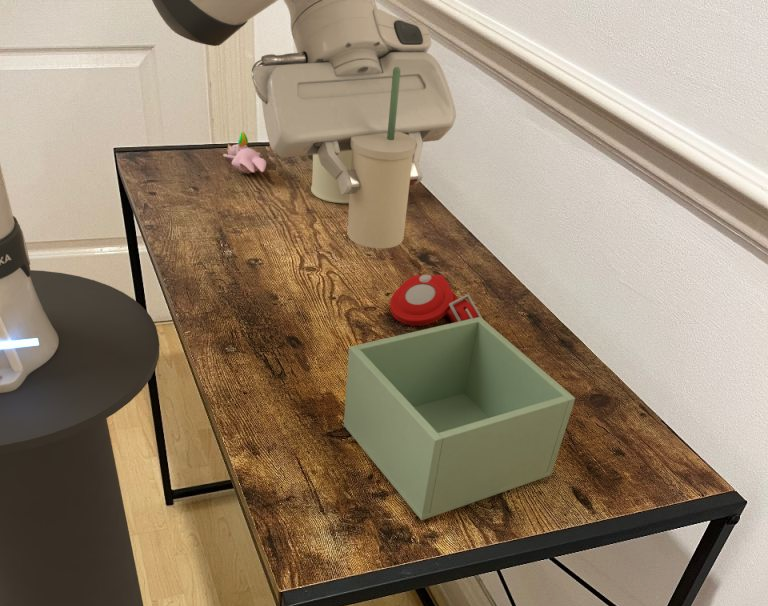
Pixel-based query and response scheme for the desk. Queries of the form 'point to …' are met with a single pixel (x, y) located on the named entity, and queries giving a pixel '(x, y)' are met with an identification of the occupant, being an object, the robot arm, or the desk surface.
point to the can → (329, 180)
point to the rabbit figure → (245, 156)
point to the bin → (454, 414)
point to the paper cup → (381, 182)
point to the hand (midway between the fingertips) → (383, 187)
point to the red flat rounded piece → (429, 302)
